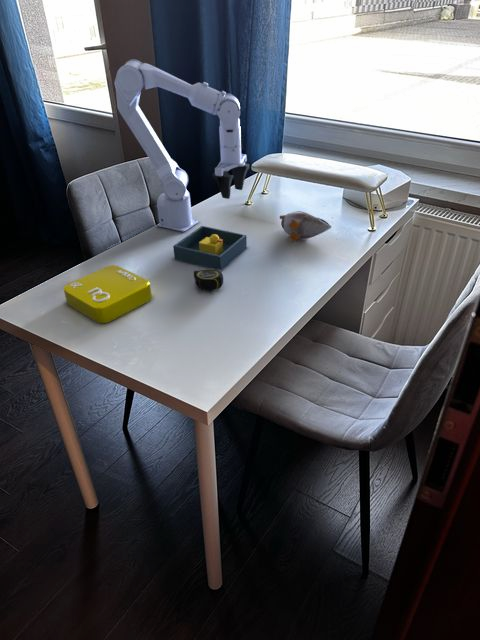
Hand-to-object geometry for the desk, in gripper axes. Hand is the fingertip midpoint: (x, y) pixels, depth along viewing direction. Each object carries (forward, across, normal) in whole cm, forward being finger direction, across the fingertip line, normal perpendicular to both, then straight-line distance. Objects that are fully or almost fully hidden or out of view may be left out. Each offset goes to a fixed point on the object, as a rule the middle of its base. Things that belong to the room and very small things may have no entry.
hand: (232, 193), depth 146 cm
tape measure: (+10, -35, -12) cm, 38 cm away
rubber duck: (+9, -20, -4) cm, 22 cm away
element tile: (+10, -51, +5) cm, 52 cm away
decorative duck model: (+10, +2, -22) cm, 24 cm away
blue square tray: (+9, -20, -4) cm, 22 cm away
